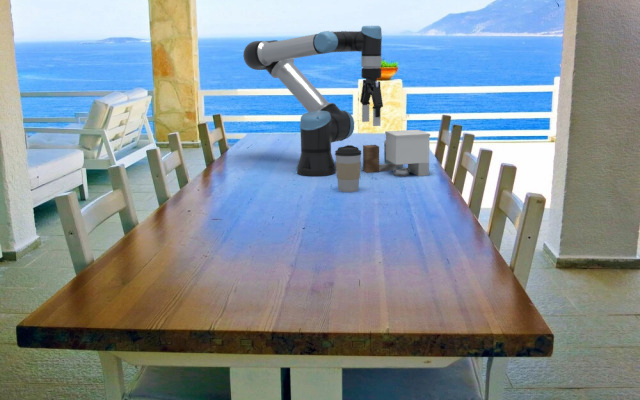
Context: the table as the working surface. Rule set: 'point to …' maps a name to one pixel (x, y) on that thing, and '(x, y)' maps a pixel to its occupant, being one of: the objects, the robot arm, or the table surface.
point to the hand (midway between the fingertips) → (371, 123)
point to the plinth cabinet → (409, 150)
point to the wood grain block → (374, 160)
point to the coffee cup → (348, 168)
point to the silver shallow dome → (401, 171)
